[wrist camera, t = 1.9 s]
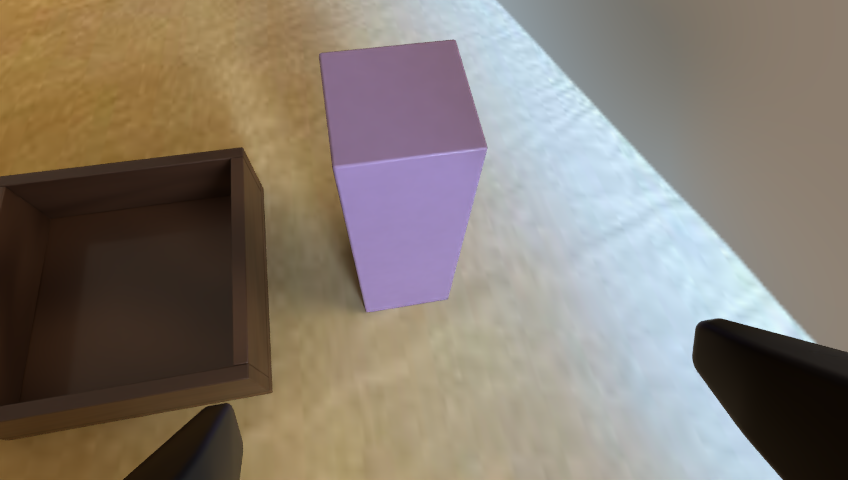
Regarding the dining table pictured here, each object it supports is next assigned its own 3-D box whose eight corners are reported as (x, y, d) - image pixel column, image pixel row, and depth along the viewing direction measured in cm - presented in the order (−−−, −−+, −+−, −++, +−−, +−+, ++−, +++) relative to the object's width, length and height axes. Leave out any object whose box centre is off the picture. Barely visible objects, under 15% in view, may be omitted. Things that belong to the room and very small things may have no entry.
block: (448, 299, 24) (488, 148, 13) (366, 312, 24) (332, 167, 12) (432, 227, 26) (455, 38, 15) (356, 238, 25) (318, 51, 14)
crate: (272, 392, 22) (248, 378, 18) (9, 440, 20) (-71, 434, 17) (263, 188, 26) (242, 146, 23) (49, 216, 25) (-7, 176, 22)
